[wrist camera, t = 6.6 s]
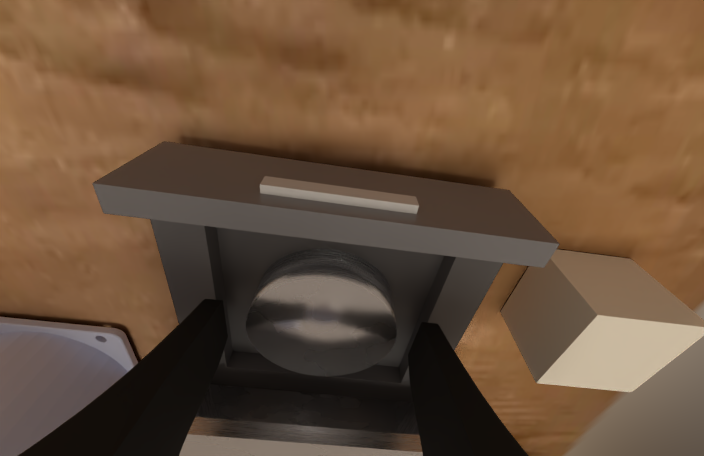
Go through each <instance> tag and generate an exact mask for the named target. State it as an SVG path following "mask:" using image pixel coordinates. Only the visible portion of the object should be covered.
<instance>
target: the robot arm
mask: <svg viewBox="0 0 704 456" xmlns="http://www.w3.org/2000/svg"><path fill="white" fill-rule="evenodd" d="M227 338H228V333H227V326H226V319H225V312H224V305H223V300H213V299H204V300H203V301H202V302H201V303H200V304H199V305H198V306H197V307H196V308H195V309H194V310H193V311H192V312H191V313H190V314H189V315H188V316H187V317H186V318H185V319H184V320H183V321H182V322H181V323H180V324H179V325H178V326H177V327H176V328H175V329H174V330H173V331H172V332H171V333H170V334H169V335H168V336H167V337H166V338H165V339H164V340H163V341H161V342H160V343H159V344H158V345H157V346H156V347H155V348H154V349H153V350H152V351H151V352H150V353H149V354H148V355H147V356H145V357H144V358H143V359H142V360H141V361H140V362H139V363H138V361H137V359H136V357H135V354H134V352H133V350H132V348H131V345H130V343H129V341H128V339H127V336H126V334H125V333H124V332H123V331H122V330H120V329H117V328H110V327H100V326H90V325H80V324H69V323H59V322H49V321H39V320H29V319H19V318H9V317H0V456H179V454H180V452H181V449H182V446H183V444H184V442H185V439H186V437H187V434H188V432H189V430H190V428H191V425H192V423H193V421H194V419H195V417H196V414H197V412H198V410H199V408H200V406H201V403H202V401H203V399H204V397H205V395H206V392H207V390H208V388H209V386H210V384H211V381H212V379H213V377H214V375H215V372H216V370H217V368H218V366H219V363H220V360H221V357H222V354H223V351H224V348H225V345H226V341H227ZM408 364H409V377H410V386H411V392H412V398H413V403H414V409H415V414H416V420H417V425H418V431H419V436H420V441H421V447H422V452H423V456H528V455H527V453H526V452H525V451H524V450H523V449H522V447H521V446H520V445H519V444H518V442H517V441H516V440H515V438H514V437H513V436H512V435H511V433H510V432H509V431H508V430H507V428H506V427H505V426H504V424H503V423H502V422H501V420H500V419H499V418H498V416H497V415H496V413H495V412H494V411H493V409H492V408H491V406H490V405H489V404H488V402H487V401H486V399H485V398H484V397H483V395H482V394H481V392H480V391H479V389H478V388H477V386H476V385H475V383H474V382H473V380H472V378H471V377H470V375H469V374H468V372H467V371H466V369H465V368H464V366H463V364H462V363H461V361H460V360H459V358H458V356H457V355H456V353H455V351H454V350H453V348H452V346H451V345H450V343H449V341H448V340H447V338H446V336H445V334H444V333H443V331H442V329H441V328H440V326H439V325H438V324H437V323H427V322H421V325H420V327H419V329H418V332H417V334H416V337H415V339H414V341H413V344H412V346H411V349H410V351H409V353H408Z"/></svg>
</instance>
